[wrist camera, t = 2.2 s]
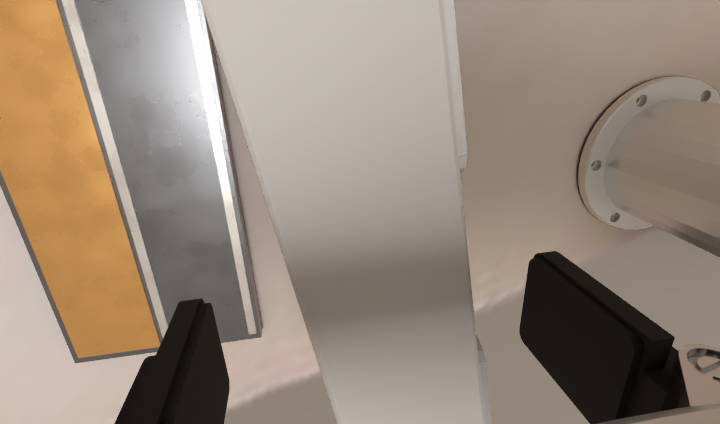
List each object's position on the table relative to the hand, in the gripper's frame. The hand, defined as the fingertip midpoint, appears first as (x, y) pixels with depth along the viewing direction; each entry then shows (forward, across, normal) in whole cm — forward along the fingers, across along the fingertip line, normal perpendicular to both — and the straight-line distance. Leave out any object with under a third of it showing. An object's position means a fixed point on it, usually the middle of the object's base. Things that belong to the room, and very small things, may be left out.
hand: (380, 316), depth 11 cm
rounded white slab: (+19, -1, 0) cm, 19 cm away
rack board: (+19, +13, +1) cm, 23 cm away
